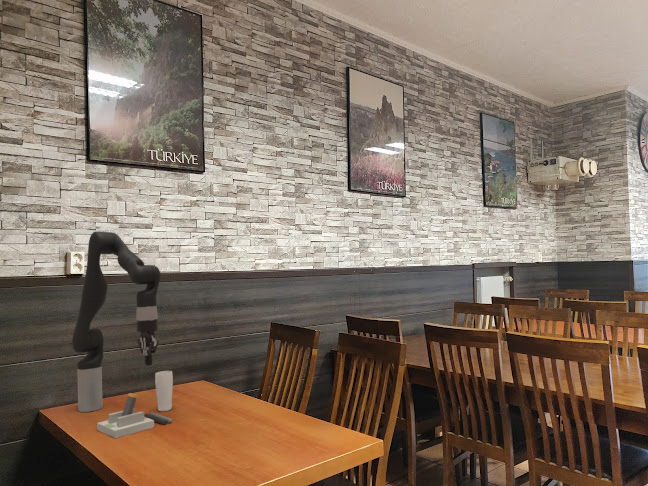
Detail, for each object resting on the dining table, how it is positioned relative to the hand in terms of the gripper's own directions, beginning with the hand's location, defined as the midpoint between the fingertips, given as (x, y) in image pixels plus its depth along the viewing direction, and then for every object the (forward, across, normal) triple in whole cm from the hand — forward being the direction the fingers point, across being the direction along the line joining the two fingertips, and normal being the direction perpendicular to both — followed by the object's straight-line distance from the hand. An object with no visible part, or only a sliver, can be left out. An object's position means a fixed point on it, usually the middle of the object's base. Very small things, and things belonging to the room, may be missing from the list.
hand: (148, 365), depth 183 cm
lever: (+17, 0, -9) cm, 19 cm away
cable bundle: (+21, 0, +3) cm, 21 cm away
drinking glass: (+21, -11, +12) cm, 27 cm away
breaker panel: (+21, 0, -9) cm, 23 cm away
